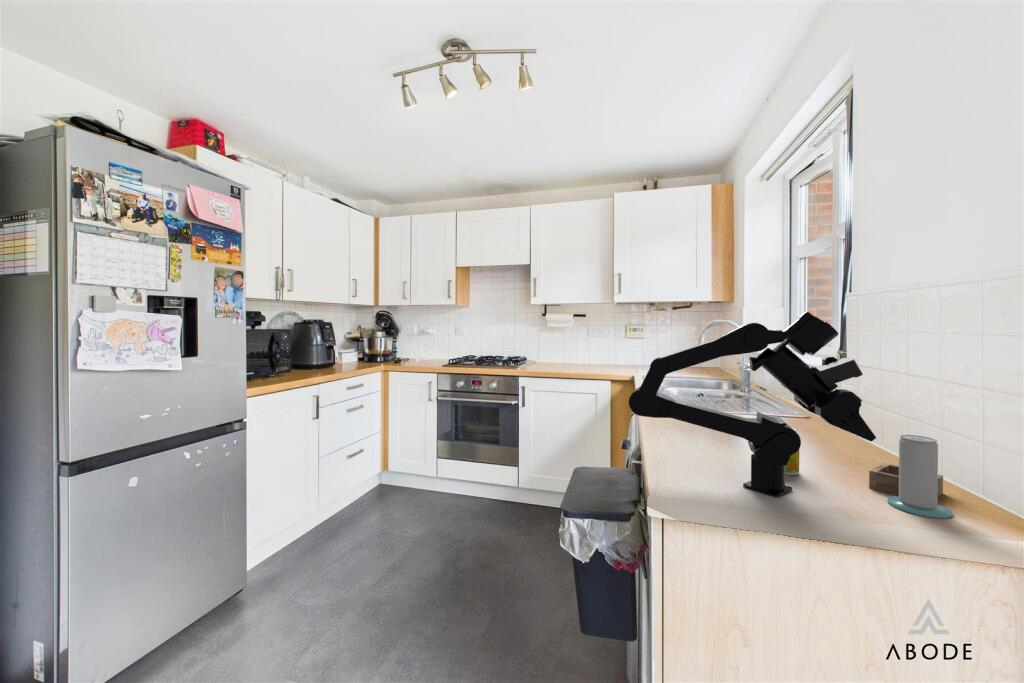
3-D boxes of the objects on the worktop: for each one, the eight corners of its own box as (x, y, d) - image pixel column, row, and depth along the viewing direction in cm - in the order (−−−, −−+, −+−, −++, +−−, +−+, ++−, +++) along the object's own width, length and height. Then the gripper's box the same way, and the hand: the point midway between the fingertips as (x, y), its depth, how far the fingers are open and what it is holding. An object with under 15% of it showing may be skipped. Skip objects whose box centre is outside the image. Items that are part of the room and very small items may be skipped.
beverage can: (941, 513, 67) (942, 443, 67) (902, 507, 70) (903, 439, 70) (931, 502, 71) (932, 436, 71) (895, 497, 74) (895, 433, 74)
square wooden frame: (929, 503, 72) (930, 484, 72) (869, 487, 80) (869, 470, 80) (942, 493, 77) (943, 475, 77) (884, 479, 84) (884, 463, 84)
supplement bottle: (773, 473, 88) (773, 430, 88) (767, 466, 93) (768, 425, 93) (802, 477, 86) (803, 432, 86) (795, 469, 91) (795, 427, 91)
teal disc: (945, 522, 65) (945, 519, 65) (880, 505, 72) (881, 502, 72) (957, 511, 69) (957, 508, 69) (895, 495, 76) (895, 492, 76)
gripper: (846, 344, 67) (933, 414, 62) (812, 342, 84) (879, 397, 80) (790, 388, 70) (869, 458, 66) (768, 377, 87) (830, 432, 83)
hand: (862, 433), depth 73 cm, fingers open, 9 cm apart
